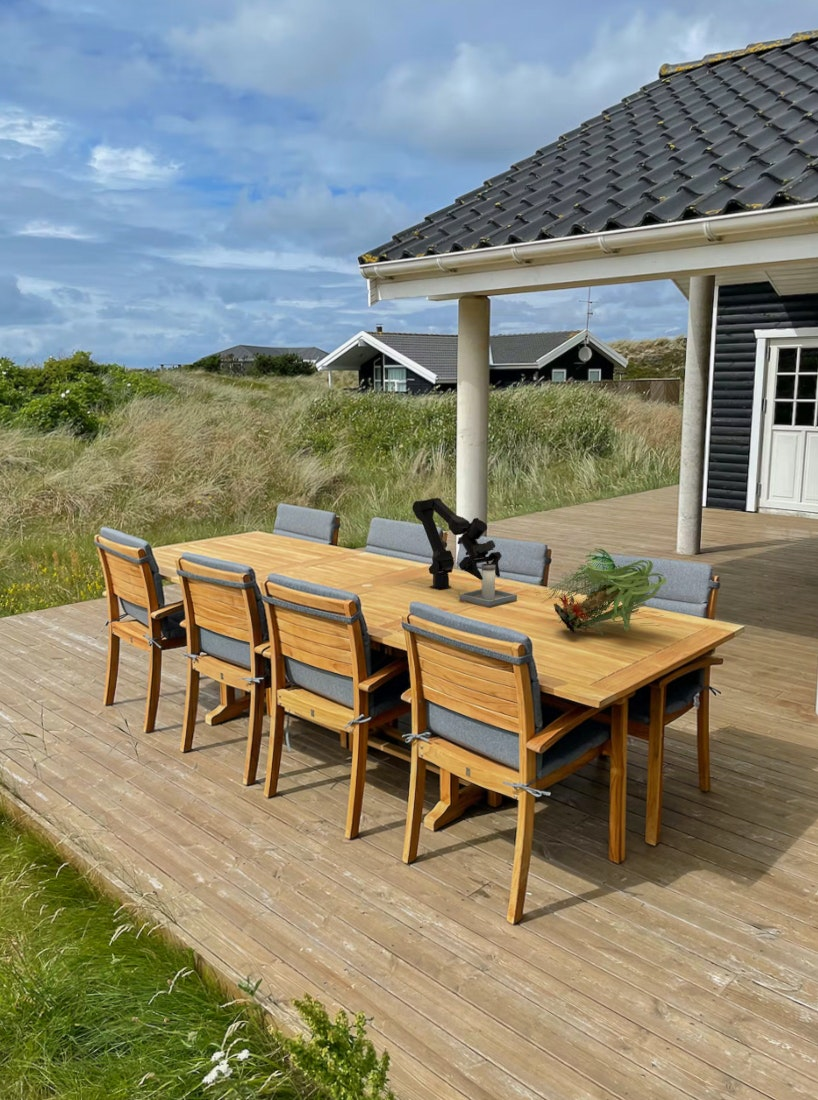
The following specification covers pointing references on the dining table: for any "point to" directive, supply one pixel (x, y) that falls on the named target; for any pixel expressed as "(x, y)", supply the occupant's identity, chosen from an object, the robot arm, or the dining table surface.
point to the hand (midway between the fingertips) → (490, 578)
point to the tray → (500, 599)
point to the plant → (605, 593)
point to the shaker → (488, 581)
